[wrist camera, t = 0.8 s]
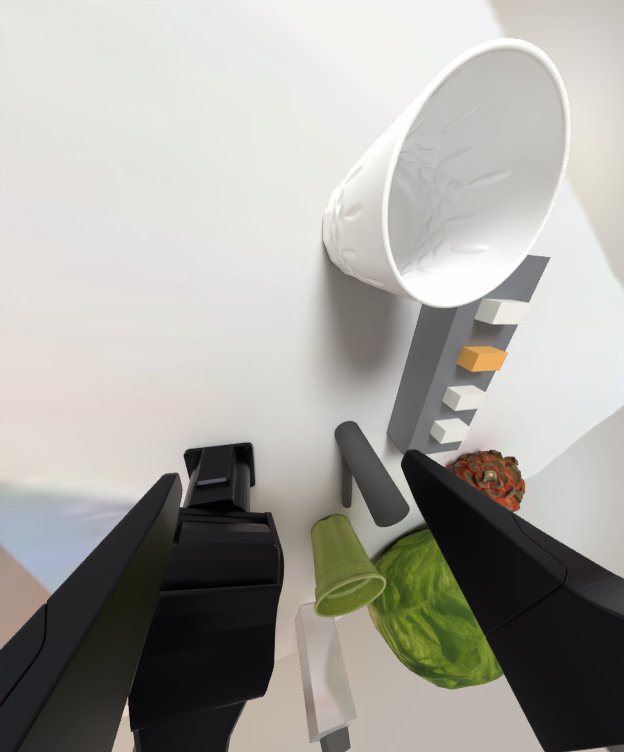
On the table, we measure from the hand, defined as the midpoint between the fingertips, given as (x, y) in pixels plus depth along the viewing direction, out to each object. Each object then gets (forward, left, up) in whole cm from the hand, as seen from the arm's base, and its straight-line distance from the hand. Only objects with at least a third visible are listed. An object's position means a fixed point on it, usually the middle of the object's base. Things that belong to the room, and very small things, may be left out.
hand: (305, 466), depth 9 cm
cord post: (-10, -8, -13) cm, 18 cm away
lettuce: (-41, -25, -13) cm, 50 cm away
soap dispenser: (-59, -6, -13) cm, 61 cm away
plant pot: (-29, -8, -13) cm, 33 cm away
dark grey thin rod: (-18, -9, -13) cm, 24 cm away
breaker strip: (-1, -17, -13) cm, 22 cm away
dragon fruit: (-19, -30, -13) cm, 38 cm away
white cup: (+10, -7, -13) cm, 18 cm away
